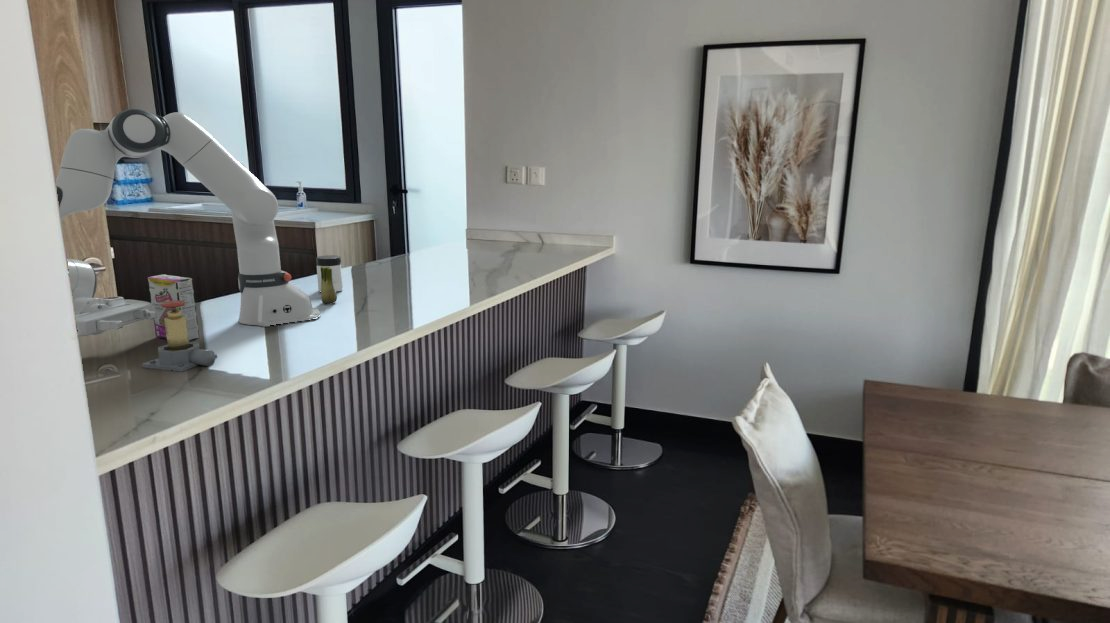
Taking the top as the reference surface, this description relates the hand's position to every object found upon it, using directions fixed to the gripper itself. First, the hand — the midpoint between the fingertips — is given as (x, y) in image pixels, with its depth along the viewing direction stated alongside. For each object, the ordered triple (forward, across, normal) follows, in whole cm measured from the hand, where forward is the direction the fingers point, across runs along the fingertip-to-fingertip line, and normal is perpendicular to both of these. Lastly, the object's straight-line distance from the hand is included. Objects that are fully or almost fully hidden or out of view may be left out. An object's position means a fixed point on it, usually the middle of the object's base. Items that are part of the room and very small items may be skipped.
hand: (137, 320), depth 162 cm
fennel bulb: (+9, +65, +10) cm, 66 cm away
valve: (+11, 0, +9) cm, 14 cm away
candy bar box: (-6, +17, +10) cm, 21 cm away
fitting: (+13, 0, +9) cm, 16 cm away
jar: (-2, +82, +10) cm, 83 cm away
